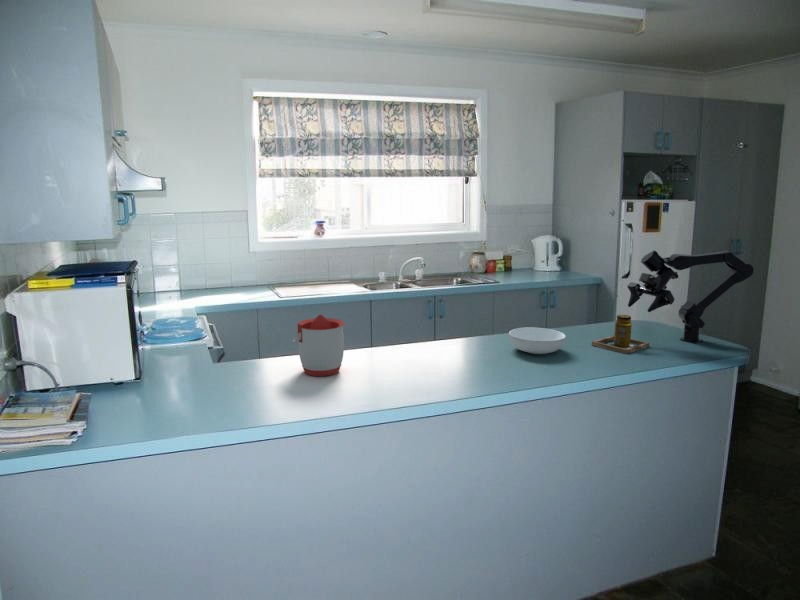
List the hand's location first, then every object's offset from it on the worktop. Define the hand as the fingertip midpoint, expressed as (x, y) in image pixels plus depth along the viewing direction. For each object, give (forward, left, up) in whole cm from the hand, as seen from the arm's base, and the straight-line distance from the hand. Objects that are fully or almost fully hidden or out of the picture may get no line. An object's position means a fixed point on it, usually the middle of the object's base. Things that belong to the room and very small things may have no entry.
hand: (638, 308), depth 238 cm
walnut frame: (+7, -2, -14) cm, 16 cm away
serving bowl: (+38, -18, -15) cm, 45 cm away
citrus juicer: (+116, -47, -15) cm, 126 cm away
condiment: (+7, -2, -15) cm, 16 cm away
